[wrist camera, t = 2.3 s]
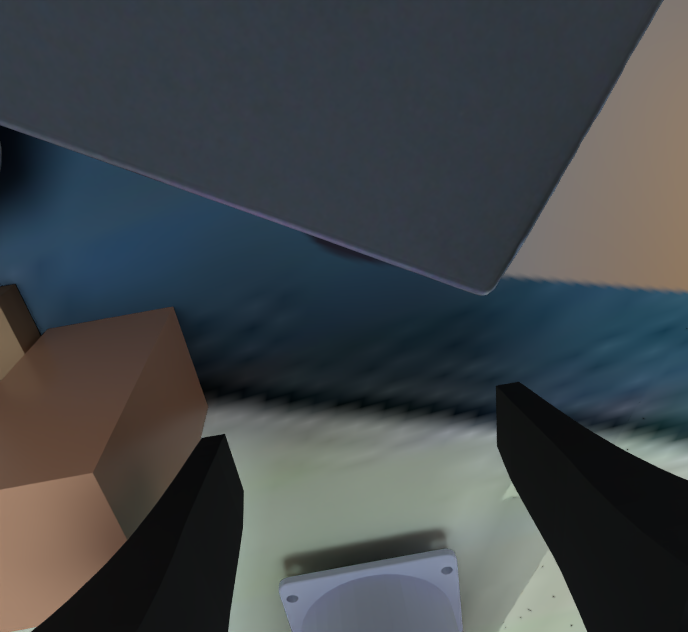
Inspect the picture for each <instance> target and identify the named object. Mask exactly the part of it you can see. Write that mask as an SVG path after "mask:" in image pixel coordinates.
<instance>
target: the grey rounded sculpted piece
mask: <svg viewBox="0 0 688 632" xmlns="http://www.w3.org/2000/svg"><path fill="white" fill-rule="evenodd" d="M1 156H2V152H1V143H0V170H1Z"/></svg>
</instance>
